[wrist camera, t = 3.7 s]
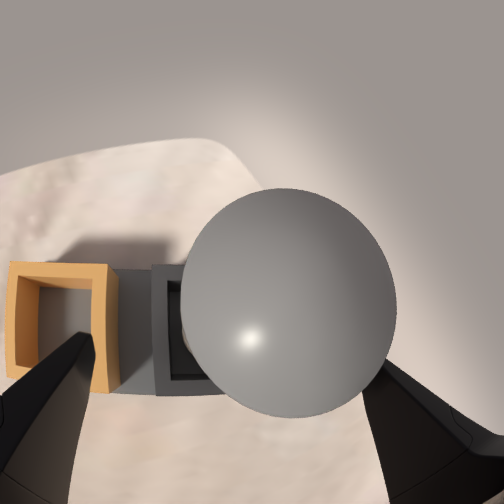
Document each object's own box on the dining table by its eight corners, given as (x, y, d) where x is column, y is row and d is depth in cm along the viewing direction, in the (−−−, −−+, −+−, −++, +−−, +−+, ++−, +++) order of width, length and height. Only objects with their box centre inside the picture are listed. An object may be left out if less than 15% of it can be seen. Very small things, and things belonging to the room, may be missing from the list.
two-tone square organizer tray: (259, 274, 19) (278, 256, 15) (267, 385, 17) (290, 395, 13) (36, 270, 15) (9, 252, 11) (35, 379, 13) (5, 384, 9)
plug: (251, 351, 16) (418, 352, 4) (192, 371, 15) (235, 456, 3) (230, 293, 17) (347, 176, 5) (171, 311, 16) (151, 215, 4)
